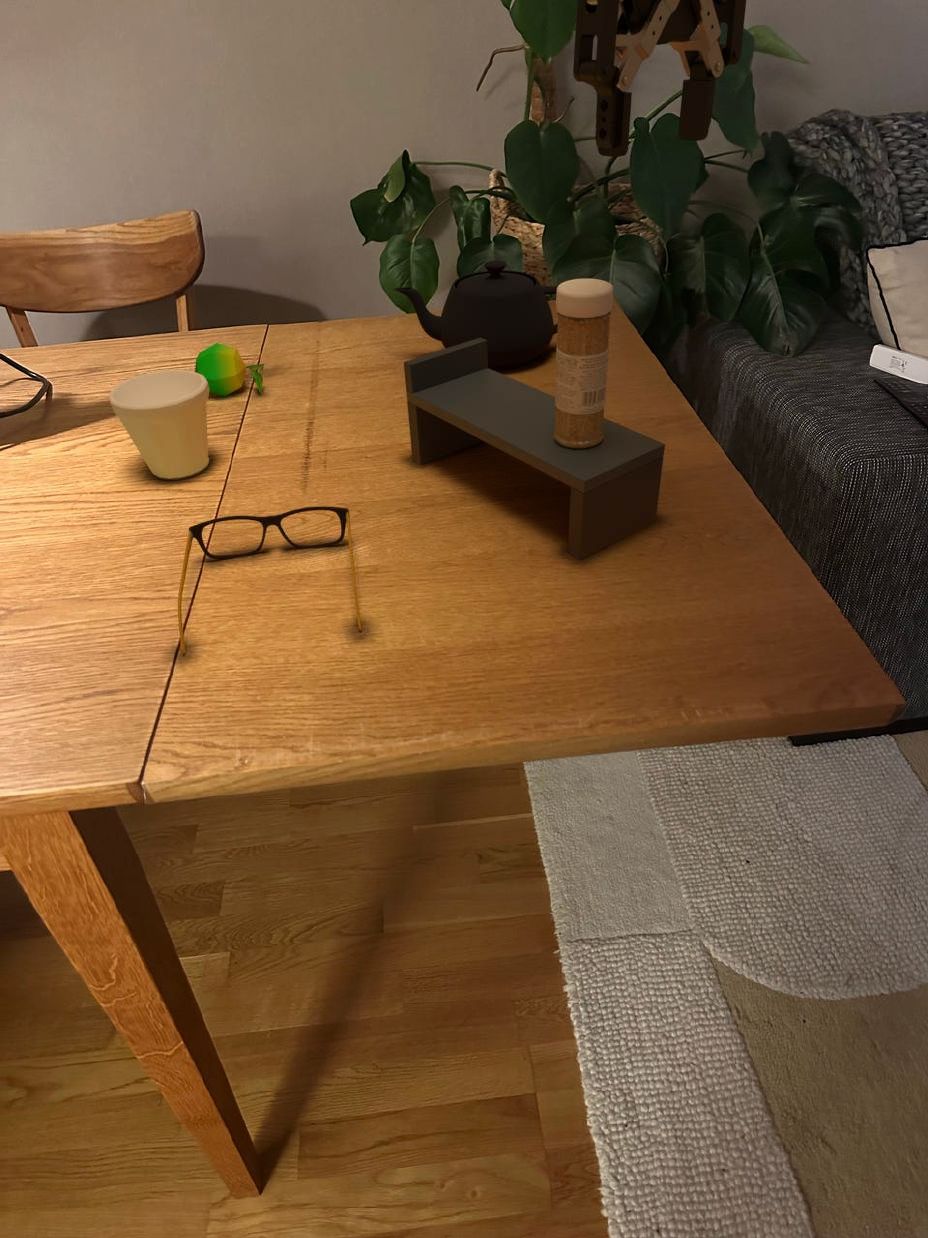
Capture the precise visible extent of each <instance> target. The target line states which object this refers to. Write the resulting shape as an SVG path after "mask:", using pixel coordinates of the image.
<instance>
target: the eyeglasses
mask: <svg viewBox="0 0 928 1238" xmlns="http://www.w3.org/2000/svg"><path fill="white" fill-rule="evenodd" d="M313 511H330V512H334V513H335V514H336V515H337V517H338V518H339V522H340V536H339V538H338V539H337V540H334V541H330V542H325V543H319V544H309V545H306V544H305V545H304V544H297V543H295V542H293V541H292V540H291V539H290V537H288V535H287V533H286V532H285V530H284V529H283V527H282V520H284V519H285V518H287V517H289V516H292V515H295V514H300V513H305V512H313ZM350 517H351V516H350V510H349V508H347V507H341V506H340V507H339V506H327V505H326V506H325V505H324V506H323V505H322V506H306V507H300V508H295V509H292V510H289V511H286V512H283V513H279V514H275V515H267V516H257V515H256V516H255V515H230V516H222V517H217V518H213V519H210V520H206V521H203V522H200V523H197V524H195V525H194V524H193V525H191V526H189V527H188V533H187V539H186V544H185V551H184V557H183V563H182V570H181V575H180V582H179V588H178V597H177V619H178V631H179V641H180V642H179V643H180V651H181V653H182V654H186V644H185V637H184V626H183V615H182V614H183V613H182V601H183V592H184V587H185V581H186V575H187V570H188V564H189V560H190V554H191V551H192V545H193V540H194V539H195V540H196V542H197V543H198V544H199V547H200V548H201V550H202V552H203V553H204V554H205V555H206V557H208V558H210V559H213V560H226V559H236V558H237V559H238V558H244V557H249V556H252V555H256V554H258V553H259V552H260V551H261V550H262V548H263V545H264V542H265V538H266V534H267V530H268V527H270V526H276V527H277V529H278V530H279V532H280V534H281V535H282V537H283V538H284V539H285V541H286V542H287V543H288V544H289V545H290V546H292V547H293V548H296V549H301V550H309V549H319V548H325V547H331V546H336V545H339V544H341V542H342V541H343V540H344V538H345V534H346V529H347V535H348V545H349V557H350V568H351V577H352V588H353V596H354V604H355V610H356V611H355V612H356V619H357V627H358V630H359V631H362V622H361V621H362V620H361V615H360V608H359V607H360V606H359V597H358V590H357V581H356V573H355V562H354V553H353V551H354V550H353V541H352V531H351V520H350ZM239 520H244V521H245V520H246V521H252V522H253V521H254V522H258V523H260V524H261V525H262V537H261V541H260V544H259V546H258V547H257V548H256V549H254V550H251V551H248V552H243V553H236V554H235V553H234V554H224V555H223V554H222V555H217V554H213V553H211V552H209V550H208V549H207V547H206V545H205V543H204V539H203V531H204V529H205V528H206V527H207V526H210V525H212V524H217V523H220V522H221V523H222V522H227V521H239ZM346 527H347V528H346Z"/></svg>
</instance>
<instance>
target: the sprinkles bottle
mask: <svg viewBox="0 0 928 1238" xmlns="http://www.w3.org/2000/svg"><path fill="white" fill-rule="evenodd" d="M557 286H558V287H557V293H556V294H555V295H556V296H555V311H557V312H556V316H557V323H558V332H557V338H556V350H555V382H554V383H555V385H554V397H555V405H556V410H555V431H554V439H555V440H556V441H557V442H558V443H559V444H561V445H563V446H566V447H571V448H589V447H592V446H594V445H596V444H598V443H600V442H601V441H602V439H603V436H604V433H603V418H604V412H605V406H606V397H607V385H608V384H607V383H608V371H609V369H608V368H609V355H610V354H609V353H610V348H609V338H610V337H609V336H610V319H611V314H612V311H613V308H614V285H613V284H612V283H610V282H608V281H606V280H603V279H599V278H574V279H569V280H565V281H563V282H561V283H560V284H558V285H557Z"/></svg>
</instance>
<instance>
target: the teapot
mask: <svg viewBox="0 0 928 1238" xmlns="http://www.w3.org/2000/svg"><path fill="white" fill-rule="evenodd" d="M506 267H507V263H506V262H505V261H504V260H499V259H496V260H489V261H486V262H484V268H485V269H486V270H483V271H478V272H472V273H469V274H465V275H462V276H460V277H458V278H457V279H455V280H454V281H453V282H452V284H451V287H450V289H449V292H448V294H447V297H446V299H445V302H444V304H443V308H442V311H441V315H440V316H439V315H435V314H433V313H431V311H429V309H428V308H427V306H426V304H425V301H424V298H423V296H422V295H421V293H420V292H419V291H418V289H415V288H414V287H408V286H407V287H405V286H404V287H402V286H401V287H394V288H393V290H394V291H395V292H398V293H401V294H403V295H404V296H405V297H406V298H408V299H409V301H410V303H411V304H412V306H413V309H414V311H415V313H416V316H417V319H418V322H419V325H420V326H421V329H422V330H423V331H424V333H426V335H428V336H429V337H430V338H431V339H434V340H435V341H438V342H441V344H442V346H443V348H444V349H446V348H449V347H452V346H456V345H459V344H462V343H465V342H468V341H471V340H474V339H478V338H482V339H485V340H487V357H488V368H489V369H491V370H495V369H497V370H498V369H507V368H508V369H509V368H514V367H518V366H522V365H525V364H528V363H530V362H532V361H534V360H535V359H537V357H538V355H540V354H541V353H542V352H544V351H545V349H546V348H547V347H548V346H549V345H550V343H551V342H552V340H553V337H554V335H556V334H558V322H557V323H555V321H554V317H553V313H552V309H551V306H550V304H549V301H548V299H547V296H546V295H556V293H557V287H558V286H559V285H549V286H546V285H545V286H542V284H541V282H540V280H539V279H538V277H536V276H534V275H533V274H530V273H526V272H523V271H517V270H504V269H506Z"/></svg>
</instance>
